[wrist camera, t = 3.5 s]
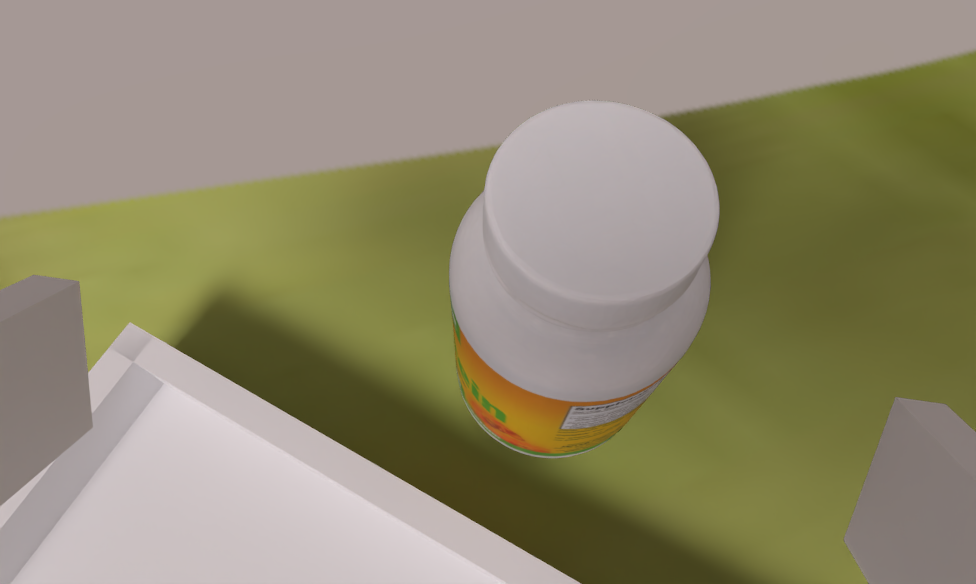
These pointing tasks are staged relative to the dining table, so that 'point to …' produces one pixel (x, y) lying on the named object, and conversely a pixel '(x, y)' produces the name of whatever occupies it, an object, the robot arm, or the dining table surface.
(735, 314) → the dining table surface
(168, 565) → the white tray
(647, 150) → the supplement bottle
